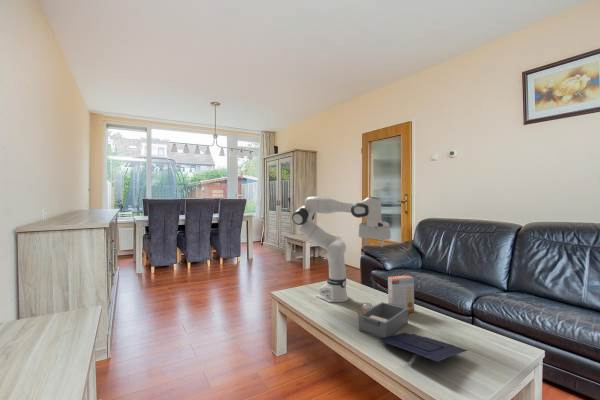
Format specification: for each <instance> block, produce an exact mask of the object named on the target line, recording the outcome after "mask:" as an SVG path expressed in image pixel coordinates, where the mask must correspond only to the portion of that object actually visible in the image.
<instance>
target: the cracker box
mask: <svg viewBox="0 0 600 400" xmlns="http://www.w3.org/2000/svg"><path fill="white" fill-rule="evenodd" d="M414 279H415V277H413V276H410V275H395V276H387V297H388V298H387V299H388V303H390V304H394V305H398V306H402V307H403V308H407V311H408V313H409V314H411V313H415V283H414V282H415V280H414Z"/></svg>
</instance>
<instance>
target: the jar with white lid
mask: <svg viewBox="0 0 600 400" xmlns="http://www.w3.org/2000/svg"><path fill="white" fill-rule="evenodd" d="M371 308H372V304H371V303H370V302H369V303H368V302H362V307H361V311H360V312H361V313H360V314H362V313H364V312H365V311H367V310H369V309H371Z"/></svg>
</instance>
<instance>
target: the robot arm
mask: <svg viewBox="0 0 600 400" xmlns="http://www.w3.org/2000/svg"><path fill="white" fill-rule="evenodd" d="M342 212H343V213H350V214H351V215H352V216H353V217H355V218H357V219H360V218H366V222H360V223H359V225H358V237H359V238H362V239H363V241H364V242H365V246H370V242H369V241H368V239H376V240H380V241H381V242H380V243H379V247H380V248H383V247H384V244H385V242H386V241H389V240H391V238H392V232H391V228H390V222H386V221H384V220H382V214H381V213H382V203H381V199H380V198H379V197H375V196H367V197H366V198H365V199H363V200H361V201H358V202H356V203H353V202H352V203H351V202H343V201H339V200H336V199H333V198H330V197H326V196H318V195H315V196H308V197H307V198H306V199H305V201H304V204H303V205H301V206H300V207H298V208H297V209H296V210H294V212H293V213H292V216H291V219H292V222H293V223H294V224H295V225H297V226H298V227H299V228H298V230H299V232H300V233H301V234H302V235H303V236H304V237H305V238H307V239H308V240H309V241H310V242H312V243H314V244H315V245H317V246H318V247H320V248H322V249H324V250H326V253H327V262H328V277H327V278H325V280H326V283H324V284H322V285H321V286H320V287H319V292H318V293H316V294H315V297H316V298H318V299H321V300H323V301H325V302H328V303H344V302H347V301H348V300H349V297H348V293H347V276H346V262H345V261H346V260H345V253H346V252H347V245H346V243H345V242H344V241H343V240H341V239H339V238H338V237H336V236H334V235H332V234H331V233H329V232H327V231H325V229H323V228H321V227H319V226H318V225H317V224H315V223H314V222H313V220H314V219H315V214H316V213H317V214H322V215H323V214H324V215H325V214H334V213H342Z"/></svg>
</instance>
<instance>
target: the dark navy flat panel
mask: <svg viewBox="0 0 600 400" xmlns="http://www.w3.org/2000/svg"><path fill="white" fill-rule="evenodd" d="M378 340H380V341H381V342H383V343H386V344H388V345H390V346H393V347H396V348H399V349H402V350H405V351H406V352H407V351H408V352H409V353H410V352H411V353H414V354H417V355H419V356H421V357H424V358H426V359H429V360H431V361H434V362H440V361H443V360H444V359H447V358H449V357H452V356H455V355H459V354H461V353H465V352H469V350H468V349H465V348H462V347H461V346H460V347H459V346H456V345H453V344H451V343H447V342H444V341H441V340H437V339H433V338H430V337H427V336H421V335H417V334H414V333H409V332H408V333H407V332H402V333H397V334H394V335H392V336H388V337H384V338H378Z"/></svg>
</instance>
